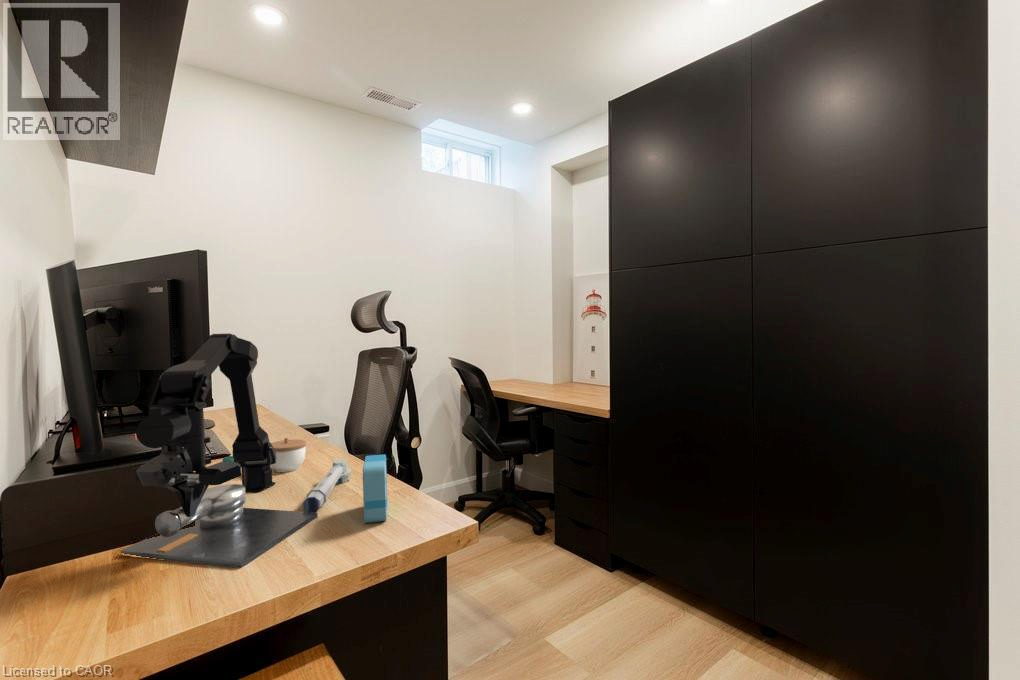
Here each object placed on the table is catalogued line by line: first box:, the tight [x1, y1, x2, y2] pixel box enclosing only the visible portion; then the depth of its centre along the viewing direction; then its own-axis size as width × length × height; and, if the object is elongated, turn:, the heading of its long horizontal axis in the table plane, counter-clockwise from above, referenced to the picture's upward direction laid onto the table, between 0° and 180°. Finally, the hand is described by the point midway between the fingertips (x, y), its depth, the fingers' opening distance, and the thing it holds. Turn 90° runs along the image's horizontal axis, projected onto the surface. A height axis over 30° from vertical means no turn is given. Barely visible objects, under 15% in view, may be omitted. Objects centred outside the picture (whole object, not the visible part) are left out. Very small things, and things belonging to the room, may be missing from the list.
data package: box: [362, 454, 388, 524], centre depth 105 cm, size 12×4×12 cm, turn 14°
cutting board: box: [119, 504, 318, 569], centre depth 95 cm, size 26×22×4 cm
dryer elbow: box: [154, 483, 247, 537], centre depth 96 cm, size 18×9×5 cm, turn 171°
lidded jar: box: [271, 437, 307, 473], centre depth 140 cm, size 11×11×9 cm
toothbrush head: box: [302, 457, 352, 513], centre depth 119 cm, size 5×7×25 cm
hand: (190, 516), depth 90 cm, fingers closed
